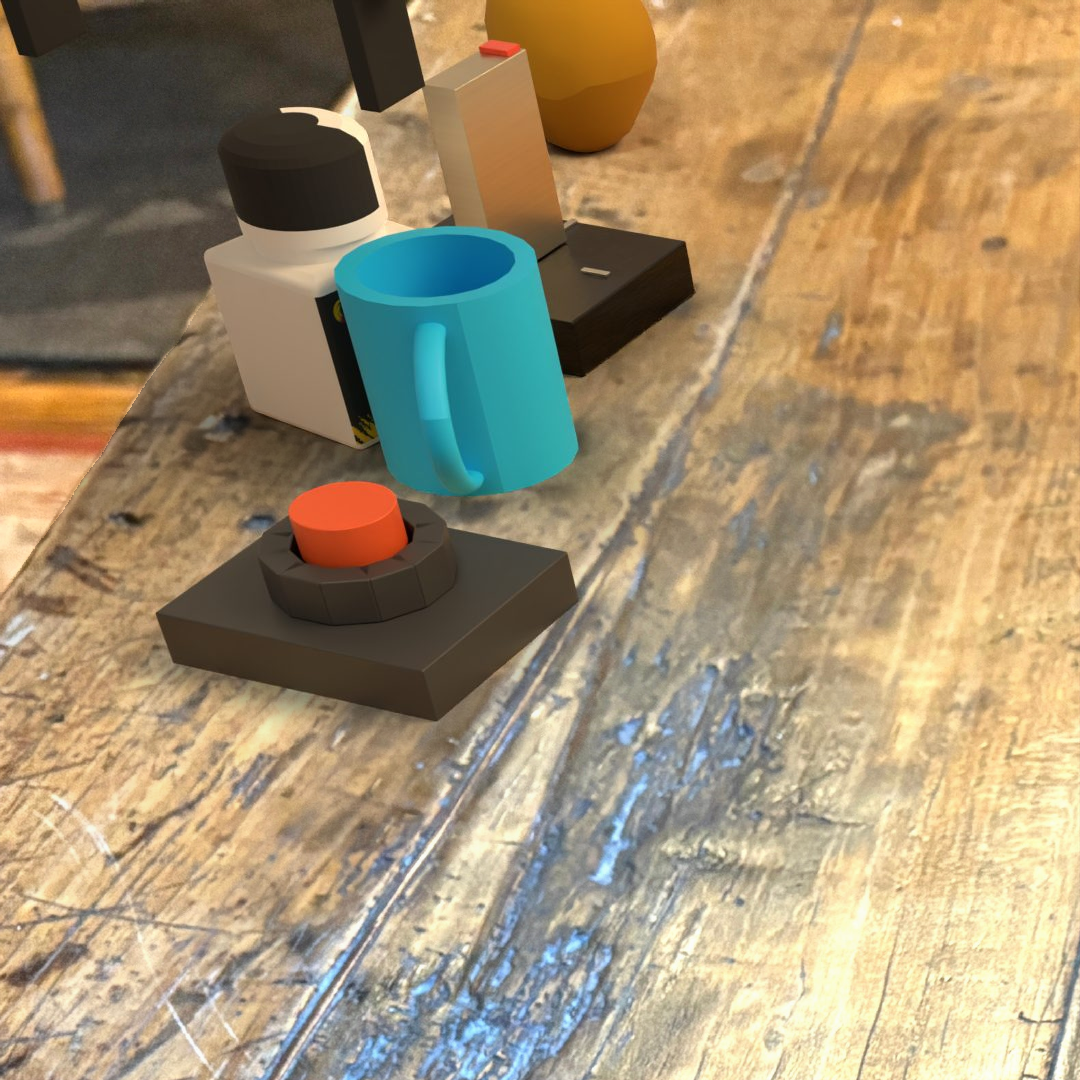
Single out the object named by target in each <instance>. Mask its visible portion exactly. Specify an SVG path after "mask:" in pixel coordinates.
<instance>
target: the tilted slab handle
mask: <svg viewBox="0 0 1080 1080" xmlns="http://www.w3.org/2000/svg"><path fill="white" fill-rule="evenodd" d="M424 82H425V86H424V87H423V88H421V90H422V95H423V98H424V102H425V107H426V111H427V115H428V119H429V123H430V127H431V131H432V135H433V139H434V144H435V148H436V151H437V155H438V159H439V164H440V168H441V171H442V176H443V179H444V185H445V188H446V192H447V197H448V200H449V205H450V208H451V212H452V214H453V217H454V221H455V225H456V226H461V227H480V228H486V229H491V230H497V231H503V232H506V233H508V234H511V235H513V236H516V237H518V238H521V239H523V240H524V241H525V242H526V243H527V244H529V245H530V246H531V247H532V248H533V249H534V250H535V255H536V259H537V260H538V259H540V258H541V257H543V256H544V255H546V254H547V253H549V252H550V251H552V250H553V249H555V248H556V247H558V246H559V245H561V244H562V243H564V242H565V241H567V238H566V233H565V228H564V224H563V220H564V219H563V215H562V210H561V206H560V201H559V196H558V192H557V187H556V182H555V177H554V173H553V169H552V164H551V159H550V155H549V151H548V145H547V141H546V138H545V136H544V131H543V127H542V122H541V118H540V113H539V108H538V104H537V99H536V94H535V90H534V85H533V81H532V76H531V71H530V67H529V62H528V57H527V53H526V49H521V48H520V45H519V44H515V43H509V42H503V41H497V40H490V41H488V40H487V41H485V42H484V43H482V44H480V45H479V46H478V51H477V52H474V53H473V54H471V55H470V56H468V57H466V58H464V59H462V60H460V61H459V62H457V63H455V64H453V65H451V66H450V67H448V68H446V69H444V70H443V71H441V72H439V73H437V74H435V75H433V76H432V77H429V79H426V80H424Z"/></svg>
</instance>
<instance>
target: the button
mask: <svg viewBox="0 0 1080 1080" xmlns="http://www.w3.org/2000/svg"><path fill="white" fill-rule="evenodd" d="M287 514H288V515H289V518H290V522H291V525H292V528H293V531H294V534H295V538H296V541H297V544H298V547H299V550H300V553H301V556H302V558H303V560H304V561H305V562H306V563H308V564H312V565H317V566H322V567H326V568H342V567H356V566H365V565H368V564H371V563H375V562H378V561H381V560H384V559H387V558H390V557H393V556H394V555H395V554H397V553H398V552H399V551H401V550H402V549H403V548H404V547H406V546H407V545H408V537H407V534H406V530H405V526H404V523H403V519H402V516H401V512H400V509H399V505H398V502H397V496H396V494H395V492H393V491H392V490H391V488H390V489H389V488H388V487H386V486H384V485H383V484H379V483H375V482H369V481H361V480H360V481H357V480H356V481H355V480H350V481H348V480H347V481H338V482H332V483H327V484H324V485H320V486H316V487H314V488H311V489H309V490H307V491H305V492H303V493H302V494H300V495H298V496H297V497H296V498H294V499H293V501H292V502H291V503H290V504H289V506H288V510H287ZM288 515H287V516H288Z"/></svg>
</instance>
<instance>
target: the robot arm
mask: <svg viewBox="0 0 1080 1080" xmlns="http://www.w3.org/2000/svg"><path fill="white" fill-rule="evenodd" d="M331 1H332V5H333V7H334V12H335V16H336V20H337V23H338V27H339V31H340V35H341V38H342V43H343V46H344V51H345V54H346V58H347V62H348V65H349V69H350V70H349V71H350V73H351V78H352V81H353V86H354V89H355V93H356V97H357V101H358V103H359V104H358V105H359V108H360V110H361V111H367V112H370V113H371V112H372V113H377V114H381V113H383V112H384V111H385V110H386V111H387V110H388V109H390V108H391V107H394V106H395V105H396V104H398V103H399V102H401V101H403V100H404V99H406V98H408V97H410V96H411V95H413V94H414V93H416V92H418V91H420V90H422V88H423V87H424V86H425V79H424V74H423V70H422V66H421V61H420V57H419V54H418V49H417V45H416V41H415V37H414V33H413V28H412V24H411V20H410V16H409V12H408V8H407V3H406V0H331ZM0 4H1V7H2V10H3V12H4V16H5V18H6V21H7V24H8V27H9V30H10V33H11V36H12V39H13V42H14V46H15V47H16V51H17V54H18V56H25V57H31V58H36V59H37V58H40V57H42V56H44V55H46V54H48V53H51V52H52V51H54V50H56V49H57V48H60V47H62V46H64V45H66V44H68V43H71V42H72V41H74V40H76V39H78V38H80V37H82V36H84V35H86V34H88V33H89V32H88V28H87V25H86V23H85V20H84V16H83V14H82V13H83V12H82V11H81V7H80V4H79V1H78V0H0Z"/></svg>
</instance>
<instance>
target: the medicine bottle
mask: <svg viewBox="0 0 1080 1080" xmlns="http://www.w3.org/2000/svg"><path fill="white" fill-rule="evenodd" d="M216 150H217V151H216V152H217V154H218V158H219V161H220V165H221V169H222V171H223V174H224V178H225V181H226V184H227V189H228V191H229V195H230V198H231V201H232V205H233V208H234V211H235V214H236V217H237V221H238V224H239V229H240V231H241V233H242V235H239V236H237V237H234V238H232V239H230V240H227V241H225V242H222V243H219V244H217V245H215V246H213V247H210V248H208V249H206V250H205V251H204V253H203V260H204V264H205V267H206V269H207V273H208V276H209V279H210V283H211V286H212V290H213V292H214V295H215V298H216V301H217V305H218V308H219V311H220V314H221V317H222V320H223V321H222V322H223V324H224V328H225V330H226V334H227V337H228V341H229V344H230V346H231V349H232V353H233V356H234V359H235V362H236V366H237V368H238V371H239V375H240V378H241V381H242V385H243V387H244V391H245V394H246V397H247V402H248V404H249V406H250V408H251V409H252V410H253V411H254V412H256V413H257V414H261V415H263V416H267V417H269V418H272V419H275V420H277V421H280V422H283V423H286V424H288V425H291V426H294V427H295V428H296V427H297V428H298V429H300V430H304V431H307V432H309V433H312V434H315V435H318V436H321V437H323V438H326V439H328V440H331V441H335V442H336V443H339V444H343V445H345V446H347V447H350V448H353V449H356V450H359V451H360V450H366V449H368V448H370V447H371V446H373V445H375V444H378V443H380V440H379V436H378V433H377V429H376V425H375V422H374V418H373V415H372V411H371V408H370V404H369V401H368V397H367V394H366V390H365V386H364V383H363V379H362V376H361V372H360V369H359V365H358V362H357V358H356V355H355V351H354V347H353V344H352V340H351V337H350V333H349V330H348V326H347V323H346V319H345V316H344V312H343V308H342V305H341V301H340V298H339V294H338V291H337V287H336V284H335V275H334V268H335V267H336V266H337V264H338V263H339V262H340V260H341V259H342V257H343V256H345V255H346V254H348V253H349V252H351V251H352V250H354V249H356V248H357V247H359V246H360V245H362V244H365V243H367V242H370V241H373V240H375V239H378V238H381V237H383V236H386V235H391V234H395V233H400V232H404V231H409V230H414V229H415V227H411V226H408V225H405V224H402V223H398V222H396V221H392V220H389V219H388V218H389V210H388V207H387V203H386V200H385V196H384V192H383V188H382V185H381V181H380V177H379V172H378V169H377V165H376V161H375V158H374V154H373V150H372V146H371V143H370V138H369V134H368V132H367V130H366V129H365V128H364V127H363V126H362V125H361V124H359V122H357V121H356V120H354V119H353V118H352V117H350V116H348V115H345V114H342V113H339V112H335V111H333V110H329V109H324V108H320V107H319V108H318V107H310V106H309V107H308V106H293V107H292V106H290V107H281V108H280V107H279V108H273V109H268V110H265V111H261V112H257V113H254V114H252V115H249V116H247V117H245V118H243V119H241V120H240V121H238V122H236V123H235V124H233V125H231V126H230V127H229V128H227V129H226V130H225V131H224V132H223V134H222V135H221V137H220V139H219V141H218V143H217V146H216Z"/></svg>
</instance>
